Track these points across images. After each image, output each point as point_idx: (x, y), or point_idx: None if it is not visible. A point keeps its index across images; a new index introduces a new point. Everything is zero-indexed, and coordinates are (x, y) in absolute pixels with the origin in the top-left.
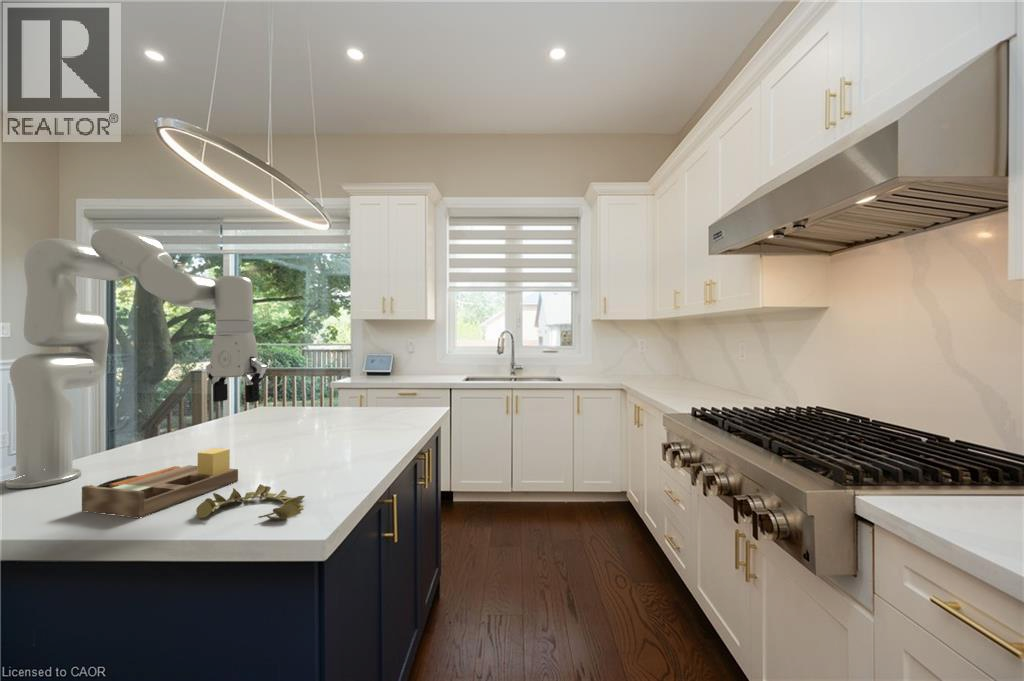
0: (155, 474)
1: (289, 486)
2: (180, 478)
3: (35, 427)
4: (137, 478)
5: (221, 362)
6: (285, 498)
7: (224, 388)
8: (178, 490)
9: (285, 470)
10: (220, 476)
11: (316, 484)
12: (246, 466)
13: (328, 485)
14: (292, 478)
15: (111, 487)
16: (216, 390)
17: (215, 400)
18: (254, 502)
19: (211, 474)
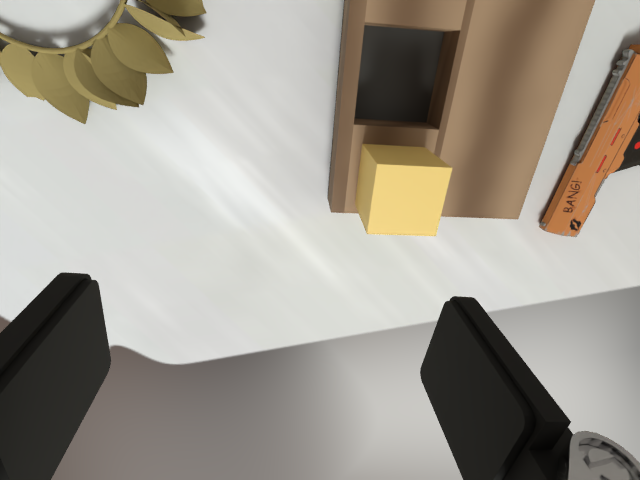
0: (588, 166)
1: (140, 188)
2: (446, 94)
3: None
4: (617, 118)
5: None
6: (8, 56)
7: (467, 444)
8: None
9: (270, 298)
10: (336, 146)
11: (78, 217)
12: (403, 306)
13: (35, 215)
14: (193, 247)
15: None
16: (491, 372)
17: (457, 302)
18: None
19: (369, 144)
